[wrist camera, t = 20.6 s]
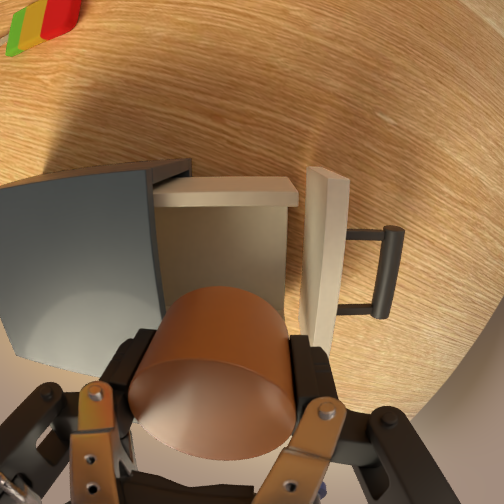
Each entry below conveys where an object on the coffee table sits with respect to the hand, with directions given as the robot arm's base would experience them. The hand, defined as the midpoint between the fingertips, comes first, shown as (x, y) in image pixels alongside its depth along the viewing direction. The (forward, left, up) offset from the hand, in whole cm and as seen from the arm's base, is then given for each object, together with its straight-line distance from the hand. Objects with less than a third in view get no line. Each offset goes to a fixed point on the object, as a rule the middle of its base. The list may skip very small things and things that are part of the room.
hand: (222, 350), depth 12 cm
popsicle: (+24, +23, -14) cm, 36 cm away
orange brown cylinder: (0, 0, 0) cm, 1 cm away
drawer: (0, -1, -13) cm, 13 cm away
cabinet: (0, +12, -14) cm, 18 cm away
